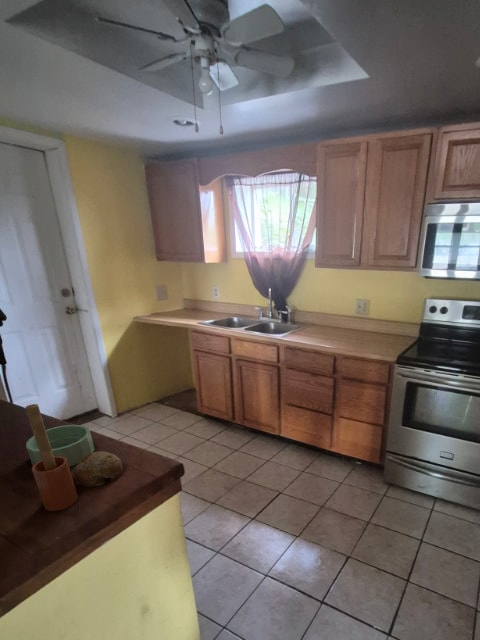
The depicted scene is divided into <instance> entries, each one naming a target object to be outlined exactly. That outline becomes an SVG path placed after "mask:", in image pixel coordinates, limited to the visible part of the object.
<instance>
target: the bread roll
mask: <svg viewBox="0 0 480 640" xmlns="http://www.w3.org/2000/svg"><path fill="white" fill-rule="evenodd" d="M123 472H124V467H123V462H122V461H121V459H120V458H119V457H118V456H117V455H116V454H114V453H111V452H107V451H93V453H90V454H88V455H86V456H85V457H84V458H83V459H82V460H81V461H80V462H79V463H78V464H76V465H75V467H74V470H73V477H74V478H73V479H74V481H75V482H74V483H75V484H76V485H78V486H82V487H86V488H87V487H88V488H91V487H92V488H93V487H99V486H102V485H104V484H106V483H109V482H112V481H114V480H116V479H118V478H119V477H120V476H121V475H122V474H123Z"/></svg>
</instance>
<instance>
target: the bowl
mask: <svg viewBox="0 0 480 640" xmlns="http://www.w3.org/2000/svg"><path fill="white" fill-rule="evenodd" d="M46 433H47V436H48V439H49V443H50V446H51V449H52V453H53V456H54V457H55V456H62V457H65V458H66V459H67V461H68V464H69V468H70V467H73V466H77V465H78V464H79V462H80V461H81V460H82V459H83V458H84V457H85V456H86V455H88V454H90V453H93V452H95V445H94V441H93V438H92V434H91V430H90V428H89V427H87V426H84V425H81V424H68V425H67V424H66V425H59V426H55V427H51V428H48V429H46ZM25 446H26V450H27V454H28V456H29V459H30V463H31V466H33V465H34V464H36V463H37V462H39V461H41V460H42V458H41V455H40V452H39V449H38V446H37V443H36V440H35V436H34V435H33V436H31V437H30V438H29V439H28V440H27V441H26V443H25Z"/></svg>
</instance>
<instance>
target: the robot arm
mask: <svg viewBox="0 0 480 640" xmlns="http://www.w3.org/2000/svg"><path fill="white" fill-rule="evenodd" d="M7 320H8V317H7V315H6V313H5V312H4V311H3V310H2V309H1V308H0V328H1V327H3V326H4V322H6V321H7ZM2 345H3V338H2V335H1V334H0V366H4V365H7V364H8V362H7V358H6V355H5V352H4V350H3V347H2Z"/></svg>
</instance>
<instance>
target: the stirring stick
mask: <svg viewBox="0 0 480 640" xmlns="http://www.w3.org/2000/svg"><path fill="white" fill-rule="evenodd" d="M25 411H26V414H27V417H28V421H29V424H30V426H31V430H32V433H33V436H35V440H36V443H37V446H38V449H39V452H40V455H41V458H42V462H43V465H44V468H45V471H49V470H53V469H55V468H57V466H56V462H55V459H54V456H53V453H52V449H51V446H50V443H49V439H48V436H47V433H46V430H47V429H46V426H45V424H44V423H45V422H44V420H43V417H42V412H41V409H40V407H39V404H37V403H33V404H28V405H26V406H25Z"/></svg>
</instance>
